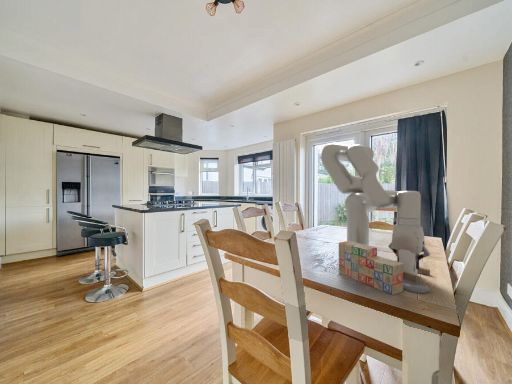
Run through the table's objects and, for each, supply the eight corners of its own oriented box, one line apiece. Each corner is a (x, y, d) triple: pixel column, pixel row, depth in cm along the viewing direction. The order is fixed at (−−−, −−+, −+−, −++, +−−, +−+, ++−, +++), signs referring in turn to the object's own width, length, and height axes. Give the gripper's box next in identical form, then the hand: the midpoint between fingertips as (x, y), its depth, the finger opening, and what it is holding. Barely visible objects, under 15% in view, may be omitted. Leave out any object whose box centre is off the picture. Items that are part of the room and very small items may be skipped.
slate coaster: (391, 285, 74) (391, 283, 74) (403, 279, 79) (403, 277, 79) (423, 296, 66) (423, 293, 66) (433, 288, 71) (433, 286, 71)
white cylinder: (393, 271, 86) (394, 247, 86) (406, 270, 88) (406, 245, 88) (409, 278, 80) (410, 251, 80) (423, 276, 82) (423, 250, 82)
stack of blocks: (403, 291, 70) (404, 254, 69) (392, 295, 67) (392, 256, 67) (348, 269, 89) (349, 240, 89) (338, 272, 86) (338, 241, 86)
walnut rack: (379, 271, 87) (379, 266, 87) (394, 265, 94) (395, 260, 94) (415, 282, 76) (415, 276, 76) (429, 274, 83) (429, 269, 83)
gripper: (381, 220, 89) (380, 264, 89) (431, 226, 75) (430, 278, 75) (390, 219, 93) (389, 260, 93) (438, 224, 79) (438, 273, 79)
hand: (407, 267), depth 84 cm, fingers closed on white cylinder, 4 cm apart
